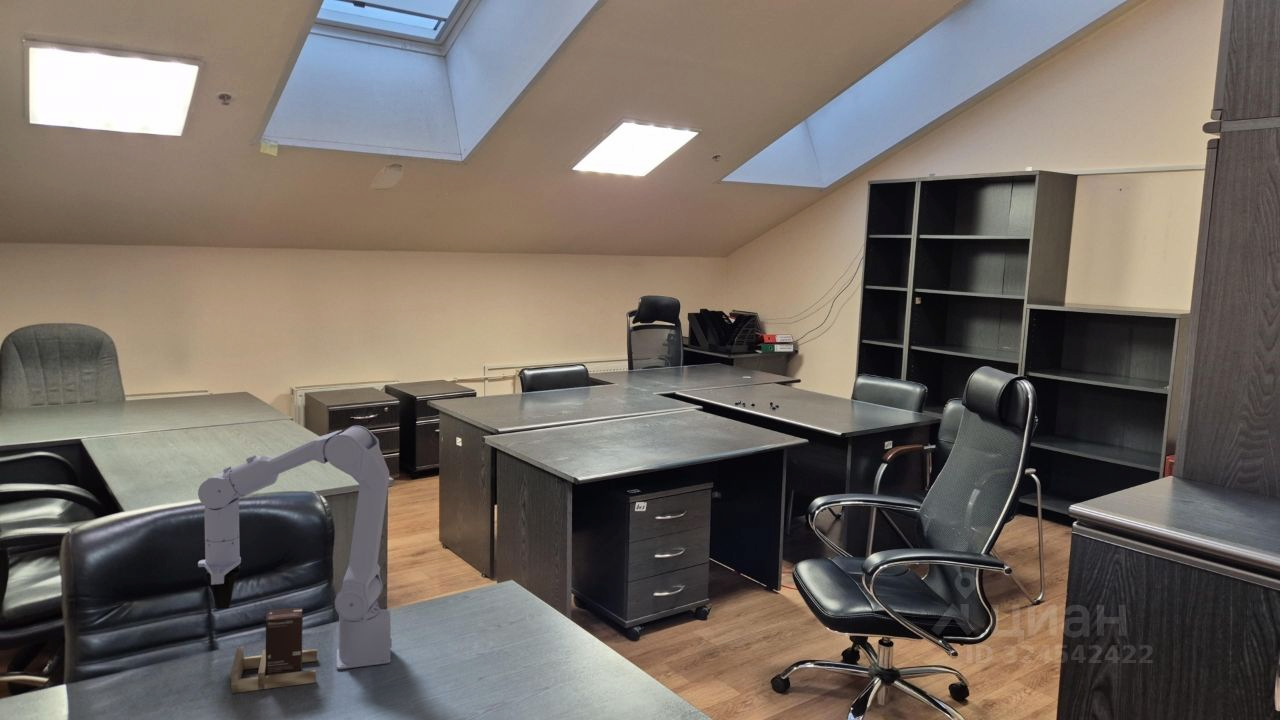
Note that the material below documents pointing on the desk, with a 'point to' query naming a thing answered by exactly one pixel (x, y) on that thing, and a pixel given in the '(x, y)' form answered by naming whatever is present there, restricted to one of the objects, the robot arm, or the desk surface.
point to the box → (284, 641)
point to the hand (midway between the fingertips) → (223, 607)
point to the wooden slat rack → (262, 679)
